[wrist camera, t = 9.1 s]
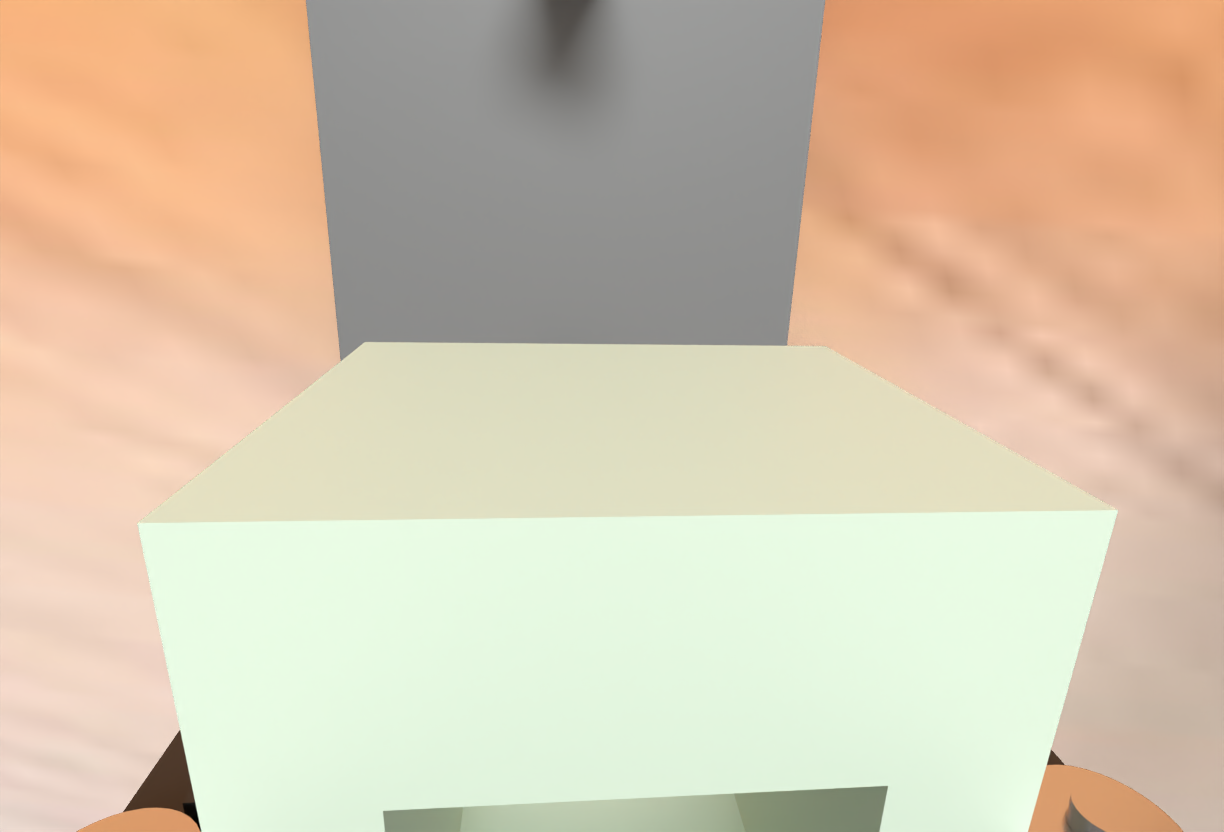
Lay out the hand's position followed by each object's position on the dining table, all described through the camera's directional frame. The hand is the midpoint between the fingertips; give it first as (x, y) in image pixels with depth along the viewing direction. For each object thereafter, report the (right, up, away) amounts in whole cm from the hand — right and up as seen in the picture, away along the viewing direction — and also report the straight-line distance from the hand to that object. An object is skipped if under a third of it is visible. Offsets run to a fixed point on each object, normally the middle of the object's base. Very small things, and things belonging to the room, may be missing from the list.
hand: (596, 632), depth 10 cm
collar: (0, 0, +1) cm, 1 cm away
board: (-1, +10, +12) cm, 16 cm away
